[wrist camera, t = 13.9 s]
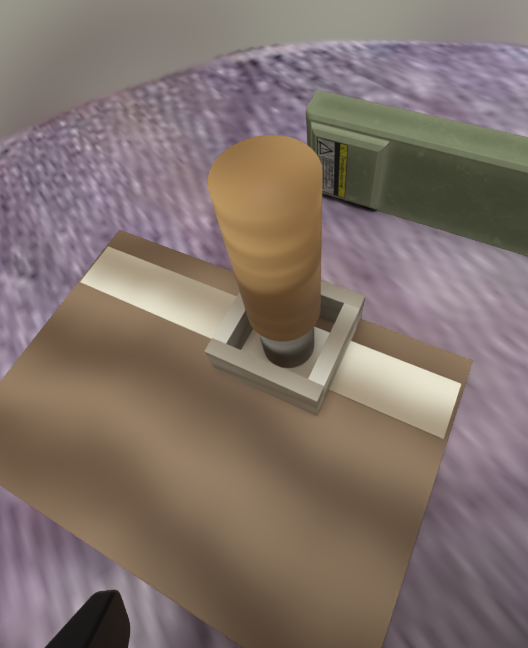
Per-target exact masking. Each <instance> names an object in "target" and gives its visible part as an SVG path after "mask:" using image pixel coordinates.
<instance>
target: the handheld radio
mask: <svg viewBox="0 0 528 648" xmlns="http://www.w3.org/2000/svg"><path fill="white" fill-rule="evenodd" d="M306 123H307V144H308V146H309V147H310V148H311V149H312V150H313V151H314V152H315V153H316V154H317V156H318V157H319V159H320V162H321V164H322V194H325V195H329V196H332V197H335V198H339V199H342V200H345V201H348V202H352V203H355V204H358V205H362V206H365V207H368V208H371V209H375V210H378V211H381V212H385V213H388V214H391V215H394V216H398V217H401V218H404V219H408V220H411V221H414V222H417V223H421V224H424V225H427V226H431V227H434V228H437V229H440V230H444V231H447V232H450V233H454V234H457V235H460V236H463V237H467V238H470V239H473V240H477V241H480V242H483V243H486V244H490V245H493V246H496V247H500V248H503V249H506V250H509V251H513V252H516V253H519V254H523V255H526V256H528V137H525V136H520V135H516V134H511V133H507V132H502V131H498V130H494V129H489V128H485V127H480V126H476V125H471V124H467V123H462V122H458V121H454V120H449V119H445V118H440V117H436V116H431V115H427V114H423V113H418V112H414V111H409V110H405V109H400V108H396V107H391V106H387V105H383V104H378V103H374V102H369V101H365V100H360V99H356V98H352V97H347V96H343V95H338V94H334V93H329V92H325V91H318V90H317V91H316V93H315V94H314V96H313V98H312V100H311V101H310V103H309V105H308V106H307V108H306Z"/></svg>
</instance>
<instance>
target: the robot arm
mask: <svg viewBox="0 0 528 648" xmlns="http://www.w3.org/2000/svg"><path fill="white" fill-rule="evenodd" d="M129 638H130V622H129V618H128V615H127V612H126V609H125V606H124V603H123V600H122V597H121V595H120V593H119V592H118V591H117V590H107V591H99V592H96V593H95V594H93V595H92V596H91V597H90V598H89V599H88V600H87V602H86V603H85V604H84V605H83V606H82V607H81V608H80V609H79V610H78V611H77V613H76V614H75V615H74V616H73V617H72V618H71V619H70V620H69V621H68V622H67V624H66V625H65V626H64V627H63V628H62V629H61V630H60V631H59V632H58V634H57V635H56V636H55V637H54V638H53V639H52V640H51V641H50V642H49V643H48V645H47V646H46V647H45V648H128V644H129Z"/></svg>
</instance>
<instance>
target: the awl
mask: <svg viewBox="0 0 528 648" xmlns="http://www.w3.org/2000/svg"><path fill="white" fill-rule="evenodd" d="M208 189H209V193H210V196H211V199H212V203H213V206H214V209H215V212H216V216H217V219H218V222H219V225H220V229H221V232H222V235H223V238H224V242H225V245H226V248H227V252H228V255H229V258H230V261H231V265H232V268H233V271H234V274H235V278H236V281H237V284H238V287H239V291H240V294H241V297H242V300H243V304H244V307H245V310H246V314H247V317H248V320H249V322H250V324H251V326H252V327H253V329H254V330H255V331H256V332H257V333H258V334H259V336H260V339H261V343H262V346H263V350H264V353H265V355H266V357H267V358H268V360H269V361H270V362H271V363H273V364H274V365H276V366H279V367H282V368H294V367H298V366H300V365H302V364H304V363H305V362H306V361H307V360H308V359H309V358H310V357H311V355H312V353H313V350H314V326H315V324H316V323H317V321H318V319H319V315H320V305H321V236H322V164H321V162H320V159H319V157H318V156H317V154H316V153H315V152H314V151H313V150H312V149H311V148H310V147H309V146H308V145H306V144H305V143H303V142H301V141H299V140H296V139H294V138H290V137H286V136H280V135H263V136H257V137H252V138H249V139H246V140H243V141H241V142H238V143H236V144H234V145H233V146H231V147H229V148H228V149H226V150H225V151H224V152H223V153H222V154H221V155H220V156H219V157H218V158H217V159H216V160H215V162H214V163H213V165H212V167H211V169H210V172H209V175H208Z"/></svg>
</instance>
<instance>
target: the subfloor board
mask: <svg viewBox="0 0 528 648" xmlns="http://www.w3.org/2000/svg"><path fill="white" fill-rule="evenodd" d="M364 301H365V295H362V294H359V293H356V292H353V291H350V290H348V289H345V288H342V287H339V286H336V285H333V284H331V283H328V282H325V281H322V280H321V305H320V315H319V319H318V321H317V323H316V324H315V326H314V350H313V353H312V355H311V357H310V358H309V359H308V360H307V361H306V362H305V363H304V364H302V365H300V366H298V367H294V368H282V367H279V366H276V365H274V364H273V363H271V362H270V361H269V360H268V358H267V357H266V355H265V353H264V350H263V346H262V343H261V339H260V336H259V334H258V333H257V332H256V331H255V330H254V329H253V327H252V326H251V324H250V322H249V320H248V317H247V314H246V310H245V307H244V304H243V300H242V297H241V294H240V291H239V287H238V284H237V281H236V278H235V274H234V272H232V271H230V270H227V269H224V268H222V267H219V266H216V265H213V264H211V263H208V262H205V261H203V260H200V259H197V258H195V257H192V256H189V255H186V254H184V253H181V252H178V251H176V250H173V249H170V248H168V247H165V246H162V245H159V244H157V243H154V242H151V241H149V240H146V239H143V238H141V237H138V236H135V235H132V234H130V233H127V232H124V231H122V230H119V231H118V232H117V233H116V235H115V236H114V237H113V239H112V240H111V241H110V242H109V244H108V245H107V246H106V247H105V249H104V250H103V251H102V253H101V254H100V255H99V256H98V258H97V259H96V260H95V261H94V263H93V264H92V265H91V267H90V268H89V269H88V270H87V272H86V273H85V274H84V276H83V277H82V278H81V279H80V281H79V282H78V283H77V284H76V286H75V287H74V288H73V290H72V291H71V292H70V293H69V295H68V296H67V297H66V298H65V300H64V301H63V302H62V304H61V305H60V306H59V307H58V309H57V310H56V311H55V313H54V314H53V315H52V316H51V318H50V319H49V320H48V321H47V323H46V324H45V325H44V327H43V328H42V329H41V330H40V332H39V333H38V334H37V335H36V337H35V338H34V339H33V341H32V342H31V343H30V344H29V346H28V347H27V348H26V350H25V351H24V352H23V353H22V355H21V356H20V357H19V358H18V360H17V361H16V362H15V364H14V365H13V366H12V367H11V369H10V370H9V371H8V372H7V374H6V375H5V376H4V378H3V379H2V380H1V381H0V486H2V487H3V488H5V489H6V490H8V491H9V492H11V493H12V494H14V495H15V496H17V497H18V498H20V499H21V500H23V501H24V502H26V503H27V504H29V505H30V506H32V507H33V508H35V509H36V510H38V511H39V512H41V513H42V514H44V515H45V516H47V517H48V518H50V519H51V520H53V521H54V522H56V523H57V524H59V525H60V526H62V527H63V528H65V529H66V530H68V531H69V532H71V533H72V534H74V535H75V536H77V537H78V538H80V539H81V540H83V541H84V542H86V543H87V544H89V545H90V546H92V547H93V548H95V549H96V550H98V551H99V552H101V553H102V554H104V555H105V556H107V557H108V558H109V559H111V560H112V561H114V562H115V563H117V564H118V565H120V566H121V567H123V568H124V569H126V570H127V571H129V572H130V573H132V574H133V575H135V576H136V577H138V578H139V579H141V580H142V581H144V582H145V583H147V584H148V585H150V586H151V587H153V588H154V589H156V590H157V591H159V592H160V593H162V594H163V595H165V596H166V597H168V598H169V599H171V600H172V601H174V602H175V603H177V604H178V605H180V606H181V607H183V608H184V609H186V610H187V611H189V612H190V613H192V614H193V615H195V616H196V617H198V618H199V619H201V620H202V621H204V622H205V623H207V624H208V625H210V626H211V627H213V628H214V629H216V630H217V631H219V632H220V633H222V634H223V635H225V636H226V637H228V638H229V639H231V640H232V641H234V642H235V643H236V644H238V645H239V646H241V647H242V648H382V645H383V642H384V639H385V636H386V632H387V629H388V626H389V623H390V620H391V617H392V614H393V610H394V607H395V604H396V601H397V598H398V595H399V592H400V588H401V585H402V582H403V579H404V576H405V573H406V570H407V566H408V563H409V560H410V557H411V554H412V551H413V548H414V544H415V541H416V538H417V535H418V532H419V529H420V526H421V522H422V519H423V516H424V513H425V510H426V507H427V504H428V500H429V497H430V494H431V491H432V488H433V485H434V482H435V478H436V475H437V472H438V469H439V466H440V463H441V460H442V456H443V453H444V450H445V447H446V444H447V441H448V437H449V434H450V431H451V428H452V425H453V422H454V419H455V415H456V412H457V409H458V406H459V403H460V400H461V397H462V393H463V390H464V387H465V384H466V381H467V378H468V375H469V371H470V368H471V365H472V362H473V360H470V359H467V358H465V357H462V356H459V355H456V354H454V353H451V352H448V351H446V350H443V349H440V348H438V347H435V346H432V345H429V344H427V343H424V342H421V341H419V340H416V339H413V338H411V337H408V336H405V335H402V334H400V333H397V332H394V331H392V330H389V329H386V328H384V327H381V326H378V325H375V324H373V323H370V322H367V321H365V320H362V319H361V316H362V311H363V306H364Z"/></svg>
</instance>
